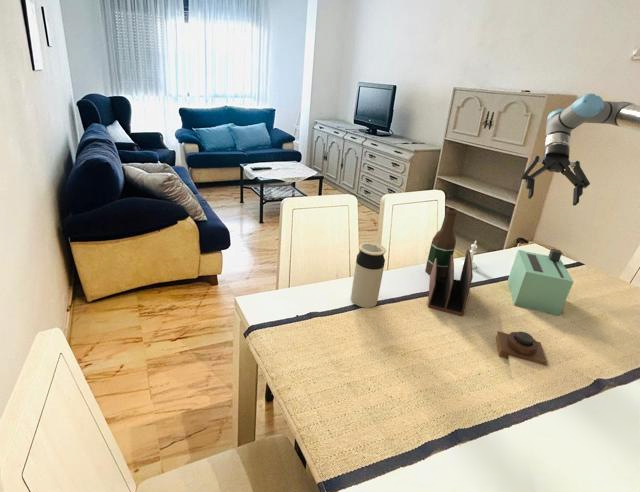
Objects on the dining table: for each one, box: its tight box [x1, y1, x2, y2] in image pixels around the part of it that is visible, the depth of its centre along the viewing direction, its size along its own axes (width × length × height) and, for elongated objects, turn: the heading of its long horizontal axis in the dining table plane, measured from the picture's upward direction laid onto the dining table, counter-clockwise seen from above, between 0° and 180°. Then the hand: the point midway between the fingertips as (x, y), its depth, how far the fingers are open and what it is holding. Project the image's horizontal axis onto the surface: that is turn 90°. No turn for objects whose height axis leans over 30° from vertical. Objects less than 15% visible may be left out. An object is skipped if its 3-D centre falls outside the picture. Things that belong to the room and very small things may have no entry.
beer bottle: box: [425, 207, 458, 277], centre depth 130 cm, size 8×8×24 cm
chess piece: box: [461, 240, 478, 269], centre depth 139 cm, size 5×5×10 cm
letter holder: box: [427, 249, 474, 317], centre depth 119 cm, size 10×20×14 cm, turn 158°
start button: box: [515, 331, 534, 346], centre depth 97 cm, size 4×4×2 cm
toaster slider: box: [547, 248, 563, 262], centre depth 121 cm, size 2×2×3 cm
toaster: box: [507, 249, 574, 317], centre depth 121 cm, size 12×16×12 cm
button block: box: [495, 330, 548, 366], centre depth 98 cm, size 10×8×4 cm
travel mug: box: [350, 242, 387, 309], centre depth 113 cm, size 8×8×18 cm
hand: (552, 200), depth 133 cm, fingers open, 13 cm apart
